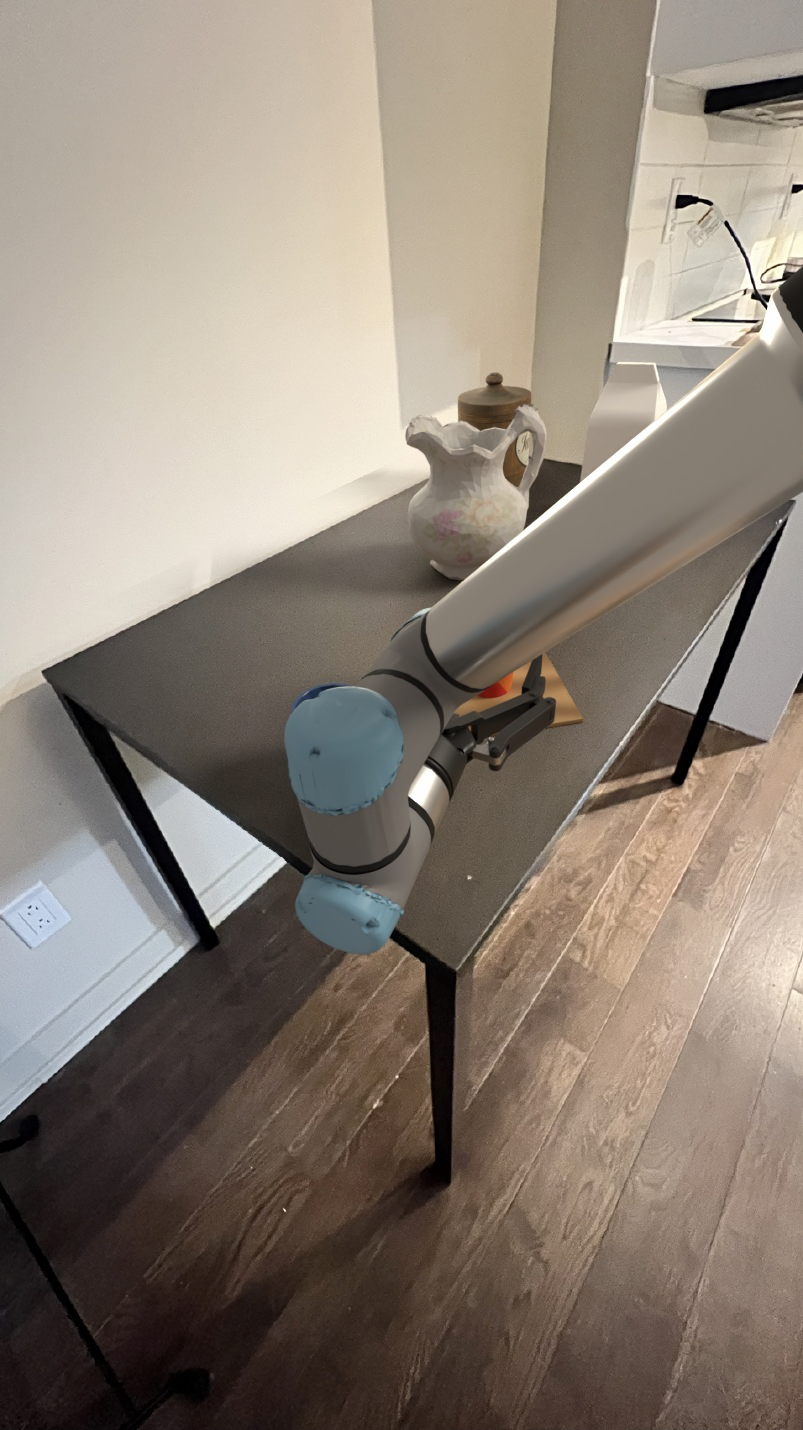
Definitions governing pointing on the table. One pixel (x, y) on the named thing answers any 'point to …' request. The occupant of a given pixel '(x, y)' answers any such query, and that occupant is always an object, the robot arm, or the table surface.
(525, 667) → the wooden board
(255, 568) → the table surface
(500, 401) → the wooden container
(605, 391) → the milk
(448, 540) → the ceramic pitcher
